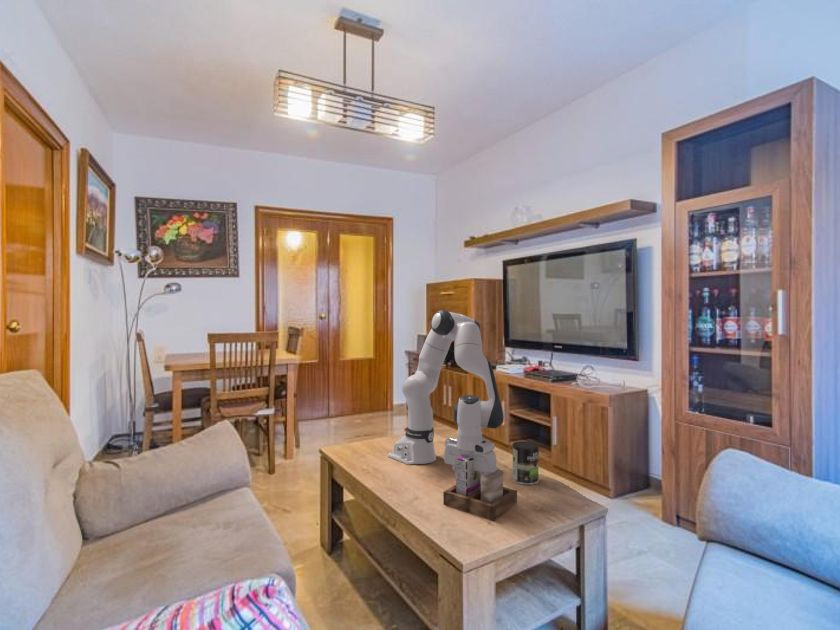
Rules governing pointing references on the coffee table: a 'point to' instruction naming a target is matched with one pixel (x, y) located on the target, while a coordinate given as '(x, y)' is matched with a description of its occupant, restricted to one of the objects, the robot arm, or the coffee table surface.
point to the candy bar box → (466, 476)
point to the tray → (484, 497)
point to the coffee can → (525, 462)
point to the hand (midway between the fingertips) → (469, 480)
